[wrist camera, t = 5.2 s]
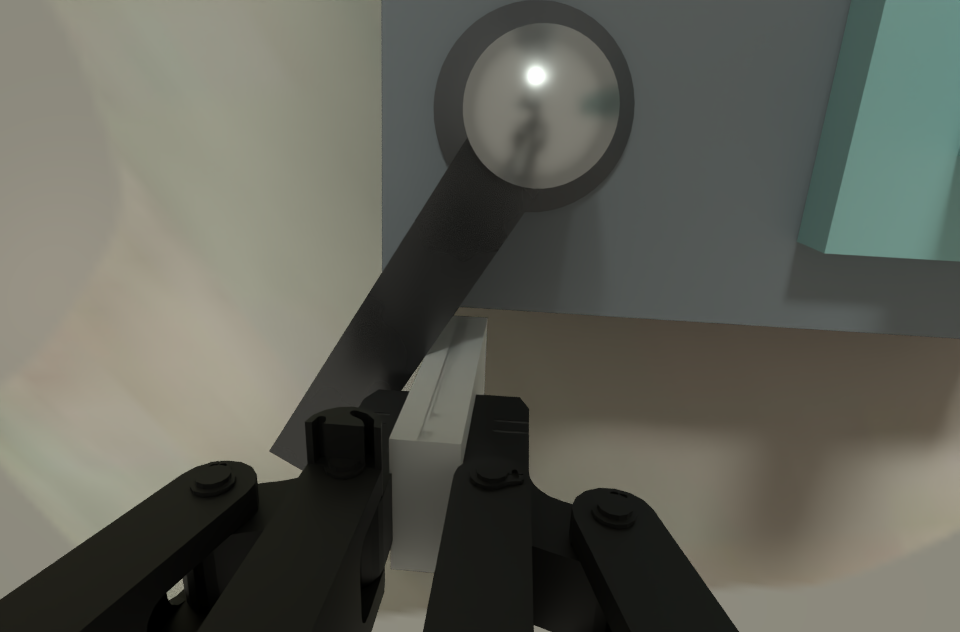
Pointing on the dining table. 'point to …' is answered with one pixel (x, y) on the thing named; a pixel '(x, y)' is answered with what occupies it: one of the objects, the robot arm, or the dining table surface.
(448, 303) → the grey lever handle
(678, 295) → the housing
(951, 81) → the cover
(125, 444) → the dining table surface
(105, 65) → the dining table surface
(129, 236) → the dining table surface
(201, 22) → the dining table surface
